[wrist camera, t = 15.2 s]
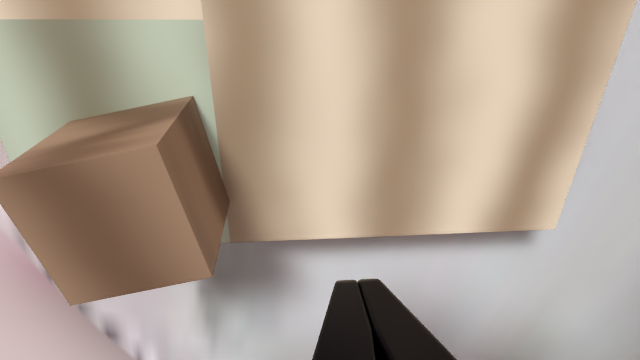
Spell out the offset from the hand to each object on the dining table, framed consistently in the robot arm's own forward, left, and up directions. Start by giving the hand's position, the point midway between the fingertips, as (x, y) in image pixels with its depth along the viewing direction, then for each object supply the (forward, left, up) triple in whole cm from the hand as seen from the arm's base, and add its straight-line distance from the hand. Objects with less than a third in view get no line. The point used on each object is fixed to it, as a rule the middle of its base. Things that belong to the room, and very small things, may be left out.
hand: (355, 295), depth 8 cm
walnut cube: (+7, +2, -10) cm, 12 cm away
